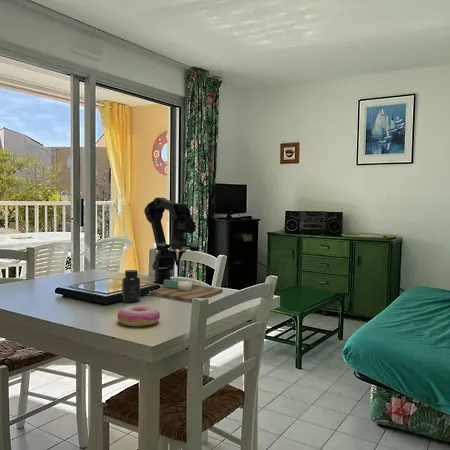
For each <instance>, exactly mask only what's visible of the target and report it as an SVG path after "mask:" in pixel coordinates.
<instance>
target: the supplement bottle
mask: <svg viewBox="0 0 450 450" xmlns="http://www.w3.org/2000/svg"><path fill="white" fill-rule="evenodd" d="M138 273H139V272H138V270H137V269H127V270H125V271H124V276H125V277H123V278H122V282H121V284H122V288H121V291H122V294H121V295H122V296H123V300H122V302H123V301H124V303H127V304H128V303H130V304H131V303H138V302H140V300H141V279H140V277H138V275H139V274H138Z"/></svg>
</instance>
